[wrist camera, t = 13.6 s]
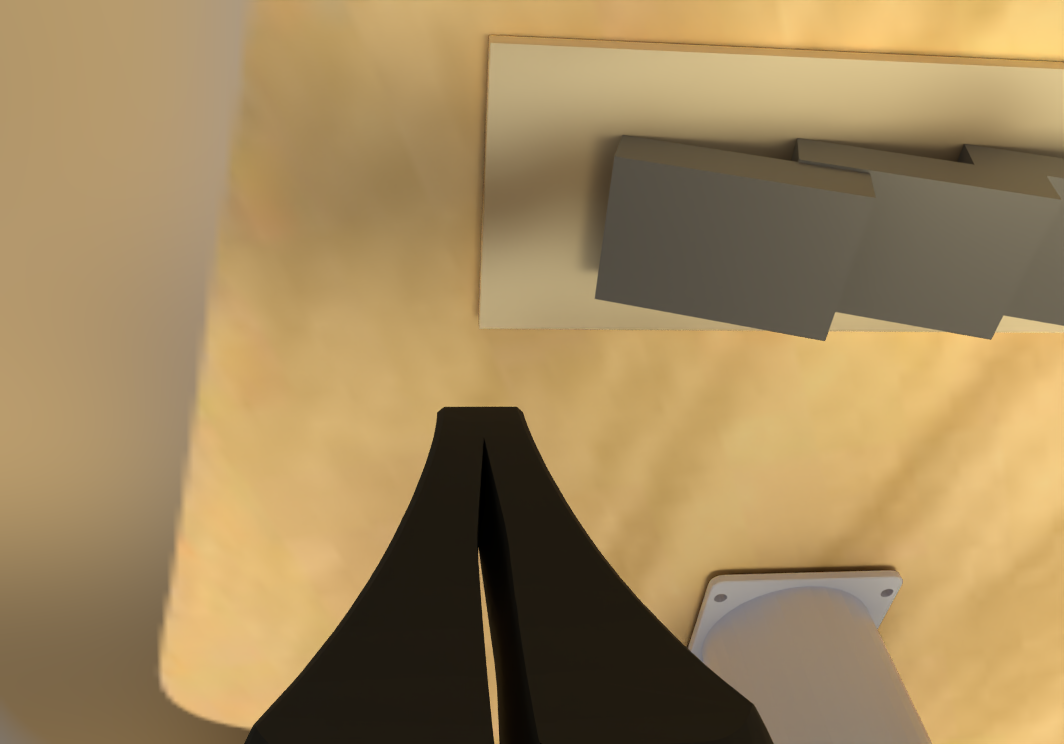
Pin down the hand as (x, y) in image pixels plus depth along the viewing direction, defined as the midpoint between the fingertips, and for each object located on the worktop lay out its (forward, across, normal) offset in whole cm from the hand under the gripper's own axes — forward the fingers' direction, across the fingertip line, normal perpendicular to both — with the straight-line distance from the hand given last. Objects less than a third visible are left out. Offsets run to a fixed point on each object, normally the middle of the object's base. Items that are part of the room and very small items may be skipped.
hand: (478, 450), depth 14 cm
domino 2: (+9, -8, 0) cm, 12 cm away
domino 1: (+9, -4, 0) cm, 9 cm away
